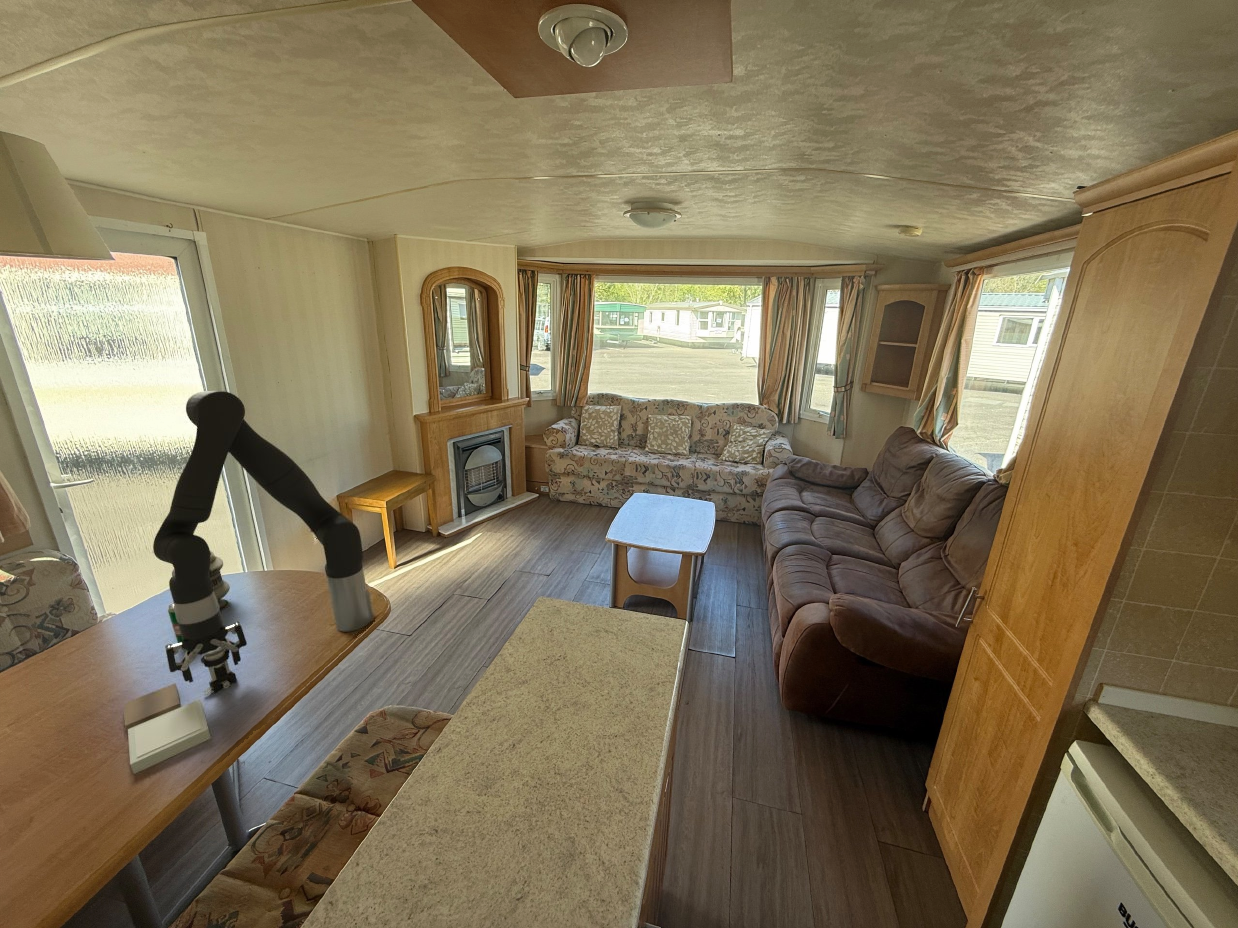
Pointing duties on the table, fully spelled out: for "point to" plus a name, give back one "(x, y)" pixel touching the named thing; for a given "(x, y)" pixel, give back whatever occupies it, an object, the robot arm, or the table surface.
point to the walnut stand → (151, 706)
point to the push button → (218, 670)
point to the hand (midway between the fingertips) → (213, 671)
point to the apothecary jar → (217, 580)
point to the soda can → (174, 623)
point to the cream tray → (167, 735)
